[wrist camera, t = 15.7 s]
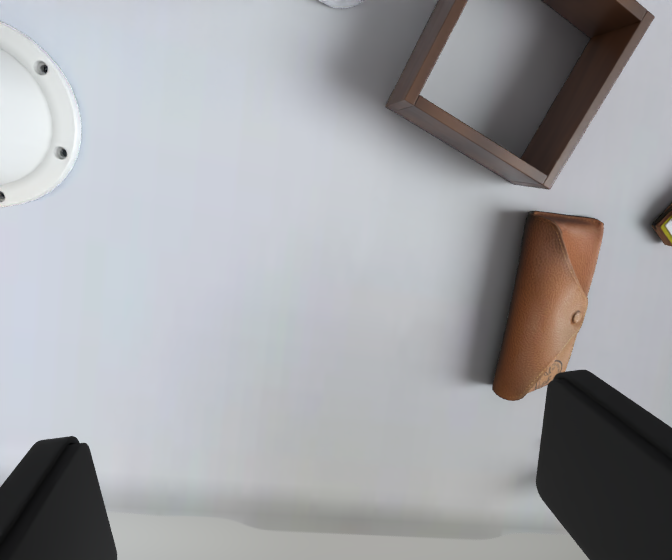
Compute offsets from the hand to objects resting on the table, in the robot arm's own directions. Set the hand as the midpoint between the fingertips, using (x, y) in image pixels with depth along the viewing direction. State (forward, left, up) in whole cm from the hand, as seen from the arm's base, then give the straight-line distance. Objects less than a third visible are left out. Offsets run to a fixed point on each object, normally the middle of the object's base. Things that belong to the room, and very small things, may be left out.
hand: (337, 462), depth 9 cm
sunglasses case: (+26, +4, -28) cm, 39 cm away
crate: (+10, +19, -28) cm, 36 cm away
